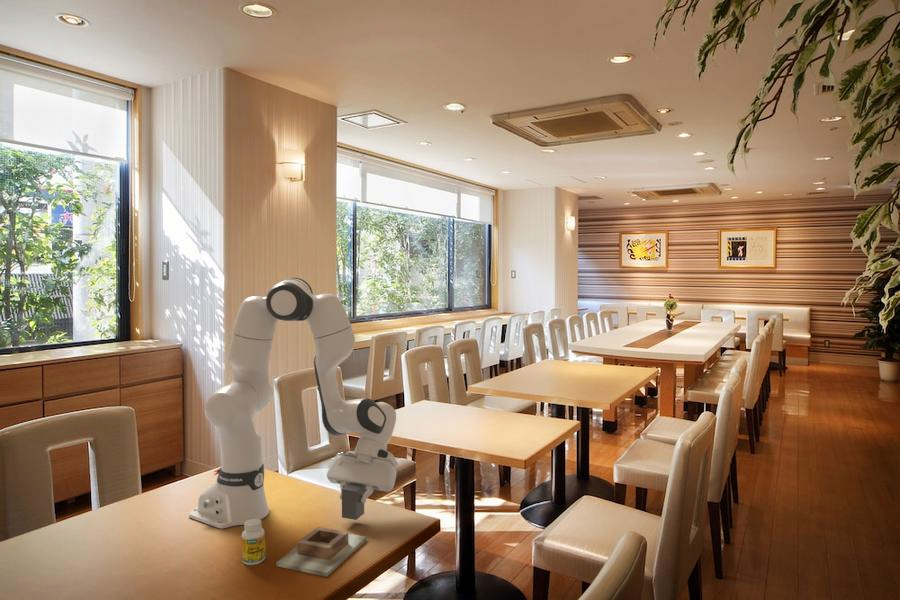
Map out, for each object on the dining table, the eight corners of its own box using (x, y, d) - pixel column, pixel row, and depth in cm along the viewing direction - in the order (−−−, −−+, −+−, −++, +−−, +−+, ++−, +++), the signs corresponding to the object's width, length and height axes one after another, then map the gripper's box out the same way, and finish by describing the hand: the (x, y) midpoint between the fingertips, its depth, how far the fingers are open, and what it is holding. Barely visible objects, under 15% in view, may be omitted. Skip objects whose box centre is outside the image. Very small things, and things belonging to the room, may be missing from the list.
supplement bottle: (262, 552, 145) (261, 515, 145) (268, 561, 141) (267, 523, 140) (239, 558, 142) (238, 520, 142) (245, 568, 138) (244, 528, 137)
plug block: (341, 517, 160) (341, 489, 160) (350, 511, 164) (350, 483, 164) (356, 520, 159) (356, 491, 158) (364, 513, 163) (364, 485, 162)
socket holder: (276, 566, 139) (276, 549, 139) (320, 532, 157) (320, 517, 156) (326, 576, 134) (326, 560, 134) (366, 540, 152) (366, 525, 151)
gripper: (333, 446, 171) (315, 490, 162) (396, 454, 163) (380, 501, 155) (341, 456, 175) (324, 500, 166) (403, 464, 168) (388, 511, 159)
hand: (351, 500), depth 161 cm, fingers closed on plug block, 4 cm apart
